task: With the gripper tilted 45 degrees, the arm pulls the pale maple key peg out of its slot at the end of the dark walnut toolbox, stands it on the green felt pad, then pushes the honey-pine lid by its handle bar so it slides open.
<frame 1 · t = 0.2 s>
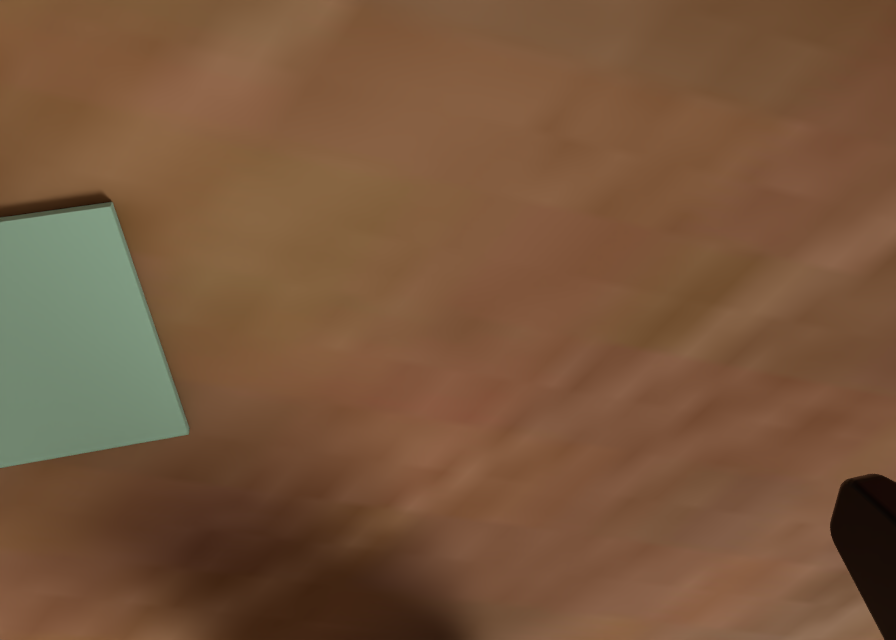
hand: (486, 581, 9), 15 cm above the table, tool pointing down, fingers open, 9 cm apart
felt pad: (12, 348, 22), on the table
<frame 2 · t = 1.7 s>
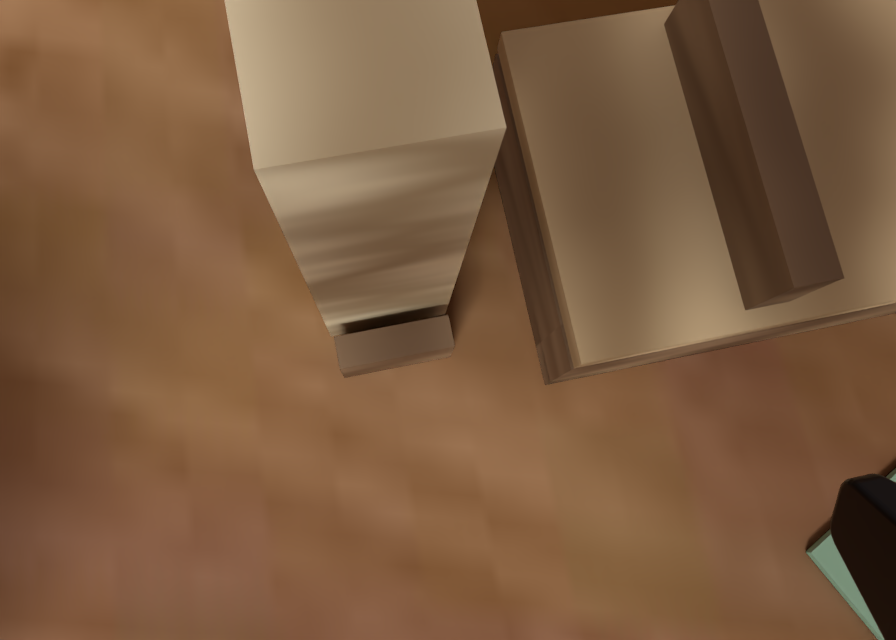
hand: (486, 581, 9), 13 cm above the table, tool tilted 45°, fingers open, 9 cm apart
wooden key: (377, 270, 24), on the table
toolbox: (722, 205, 25), on the table
lid: (830, 129, 19), point 5 cm above the table, slide at 0.0 cm
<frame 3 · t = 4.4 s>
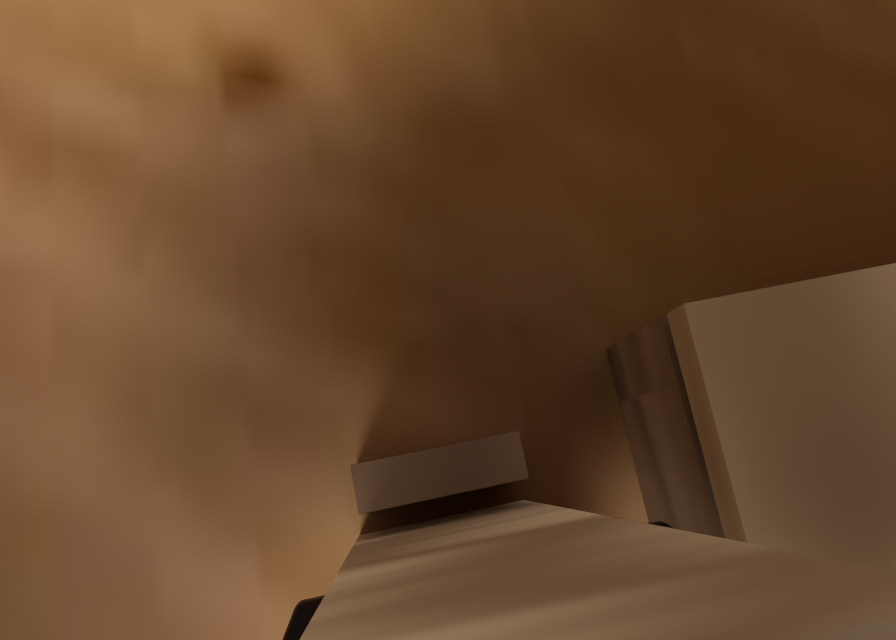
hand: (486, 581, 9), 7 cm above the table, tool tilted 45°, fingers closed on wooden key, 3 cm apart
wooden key: (459, 603, 16), on the table, touching gripper
when the fingers open (8 cm above the table, at t = 8.3 s): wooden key stays where it is, resting on felt pad.
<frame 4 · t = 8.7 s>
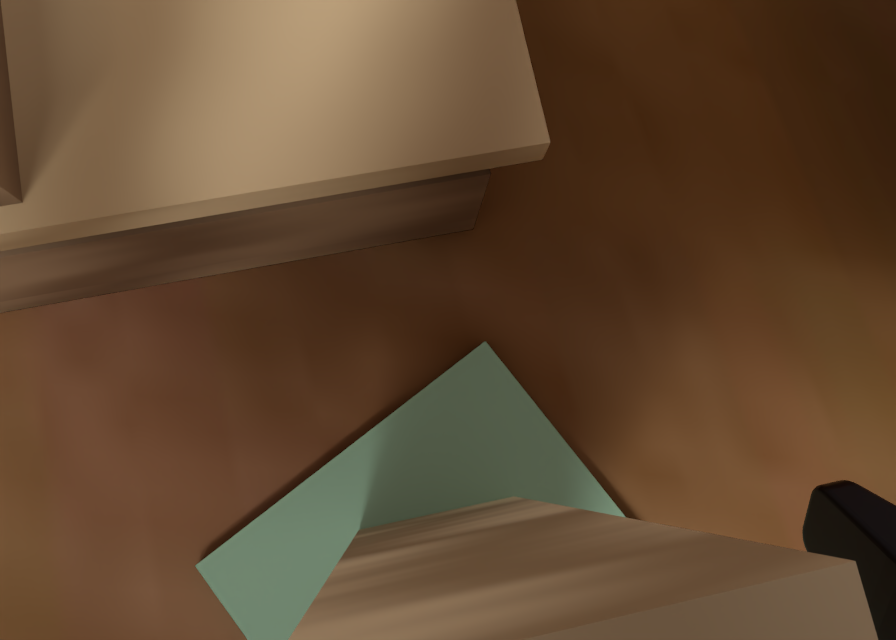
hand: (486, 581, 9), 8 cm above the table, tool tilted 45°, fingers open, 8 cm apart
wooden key: (453, 594, 17), resting on felt pad
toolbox: (155, 104, 19), on the table
felt pad: (456, 593, 17), on the table
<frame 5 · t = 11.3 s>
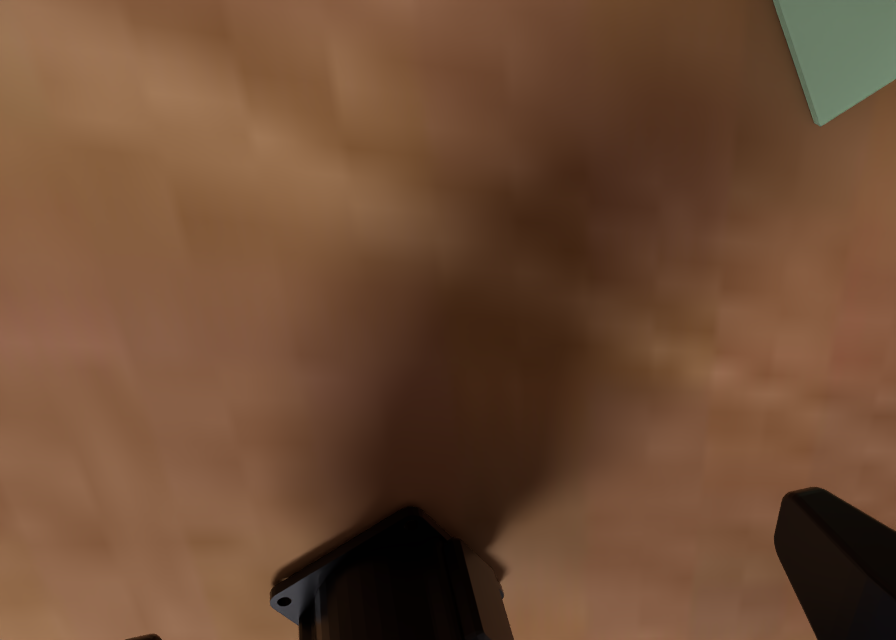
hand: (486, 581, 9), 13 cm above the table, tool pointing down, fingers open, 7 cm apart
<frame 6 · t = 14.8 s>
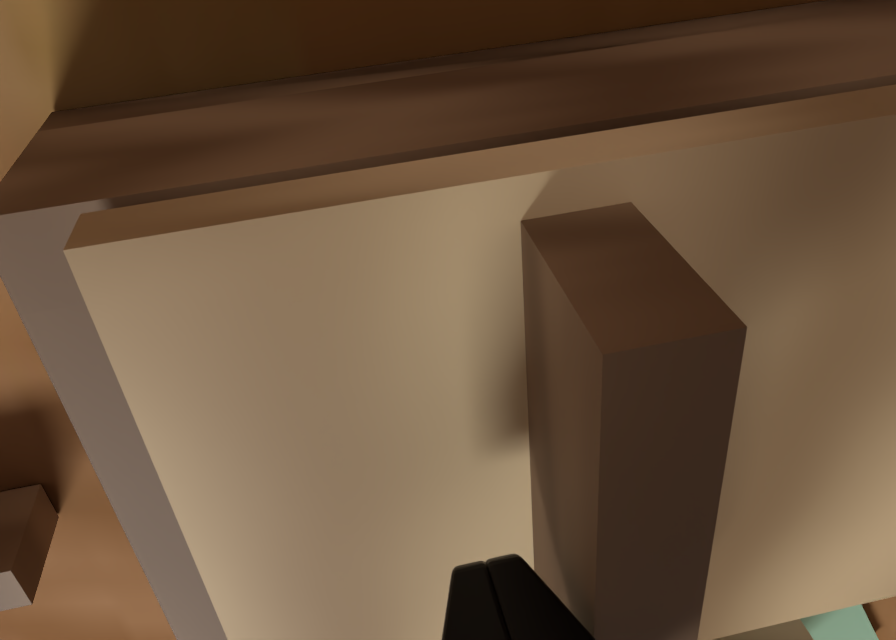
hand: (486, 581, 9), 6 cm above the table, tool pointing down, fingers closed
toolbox: (538, 294, 14), on the table
lid: (781, 487, 10), point 5 cm above the table, slide at 1.2 cm, touching gripper
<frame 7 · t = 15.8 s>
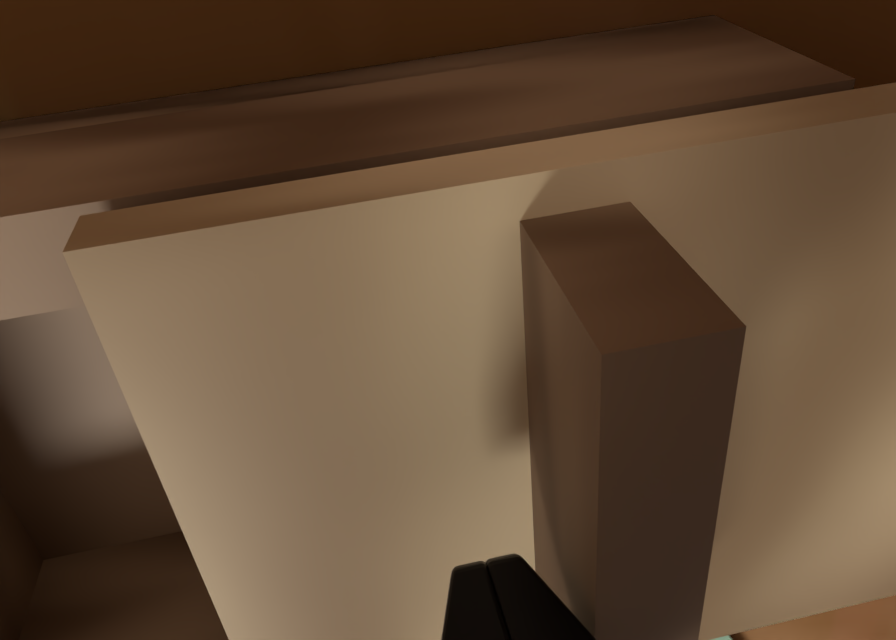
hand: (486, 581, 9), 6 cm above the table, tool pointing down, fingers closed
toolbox: (318, 334, 14), on the table
lid: (782, 486, 10), point 5 cm above the table, slide at 5.2 cm, touching gripper
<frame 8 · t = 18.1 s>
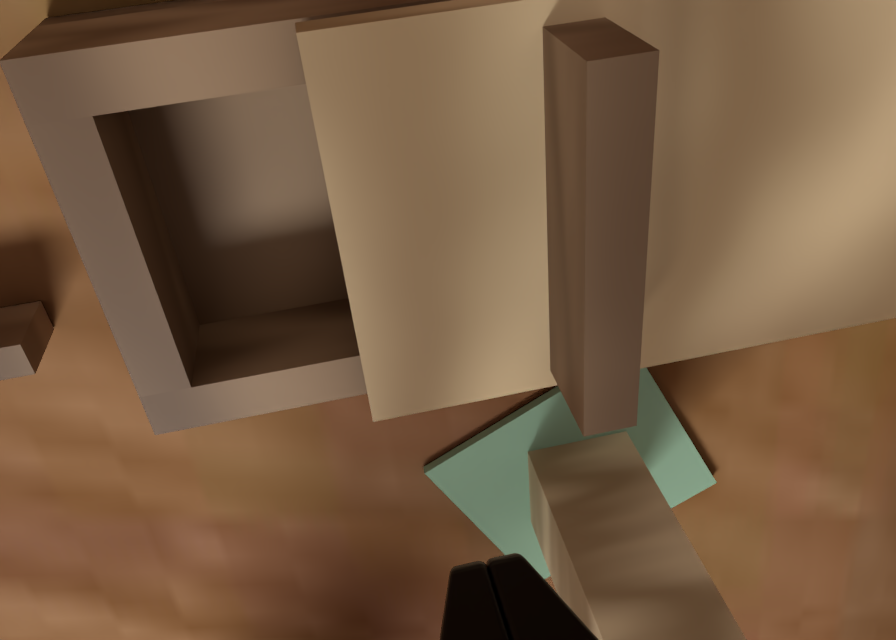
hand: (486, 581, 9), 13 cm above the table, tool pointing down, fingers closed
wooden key: (577, 477, 27), resting on felt pad
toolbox: (395, 161, 20), on the table
lid: (702, 213, 16), point 5 cm above the table, slide at 5.2 cm
felt pad: (576, 472, 27), on the table
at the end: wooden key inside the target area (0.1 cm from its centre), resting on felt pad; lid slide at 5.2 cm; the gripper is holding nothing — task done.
